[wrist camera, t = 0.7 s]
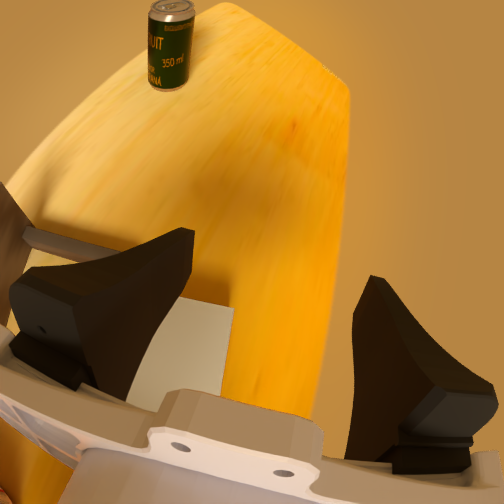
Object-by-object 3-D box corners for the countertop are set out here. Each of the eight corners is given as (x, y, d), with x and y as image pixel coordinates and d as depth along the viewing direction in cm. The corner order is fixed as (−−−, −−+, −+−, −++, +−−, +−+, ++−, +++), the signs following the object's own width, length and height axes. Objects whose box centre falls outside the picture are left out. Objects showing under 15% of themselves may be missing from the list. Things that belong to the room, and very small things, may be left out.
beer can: (174, 66, 39) (180, -6, 28) (195, 84, 38) (205, 8, 28) (140, 79, 37) (140, 4, 26) (161, 98, 36) (163, 18, 25)
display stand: (92, 435, 21) (55, 457, 13) (-17, 385, 20) (-74, 380, 12) (135, 258, 28) (119, 209, 20) (29, 229, 27) (-9, 179, 19)
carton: (209, 427, 24) (213, 435, 21) (128, 410, 23) (119, 415, 20) (227, 317, 28) (234, 308, 25) (150, 301, 27) (145, 288, 24)
